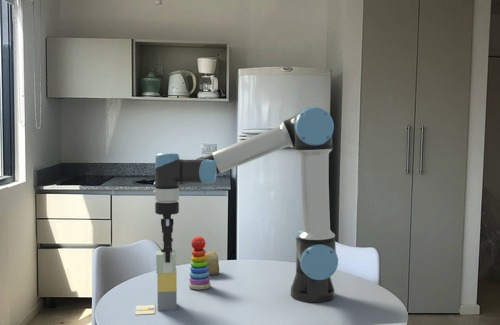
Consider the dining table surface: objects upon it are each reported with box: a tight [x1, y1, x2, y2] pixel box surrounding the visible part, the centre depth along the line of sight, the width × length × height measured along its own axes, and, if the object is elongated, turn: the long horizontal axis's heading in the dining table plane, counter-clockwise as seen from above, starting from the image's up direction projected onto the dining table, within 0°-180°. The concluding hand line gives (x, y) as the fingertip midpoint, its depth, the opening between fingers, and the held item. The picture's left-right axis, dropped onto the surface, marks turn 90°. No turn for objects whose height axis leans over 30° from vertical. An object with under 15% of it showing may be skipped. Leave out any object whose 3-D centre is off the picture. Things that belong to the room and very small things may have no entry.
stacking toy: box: [188, 236, 211, 291], centre depth 192 cm, size 8×8×19 cm
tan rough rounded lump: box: [205, 250, 220, 276], centre depth 210 cm, size 10×10×10 cm
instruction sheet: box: [134, 304, 156, 316], centre depth 168 cm, size 6×8×1 cm
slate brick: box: [157, 291, 178, 311], centre depth 171 cm, size 6×6×6 cm
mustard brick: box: [156, 271, 178, 292], centre depth 170 cm, size 6×6×6 cm
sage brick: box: [155, 249, 177, 274], centre depth 170 cm, size 6×6×6 cm
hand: (167, 266), depth 170 cm, fingers open, 13 cm apart
